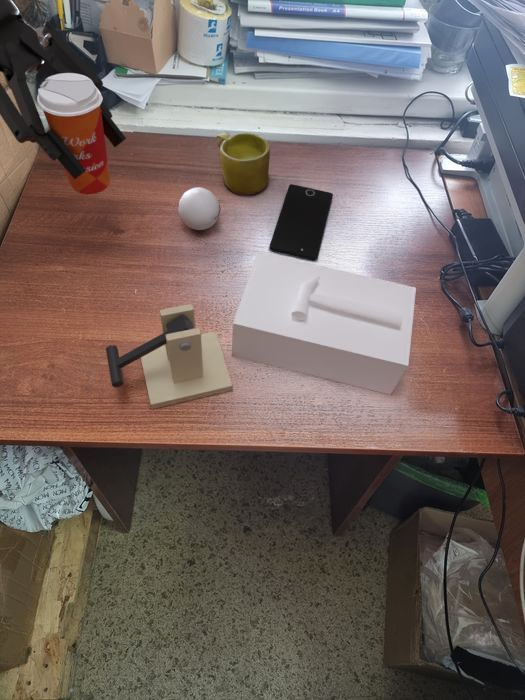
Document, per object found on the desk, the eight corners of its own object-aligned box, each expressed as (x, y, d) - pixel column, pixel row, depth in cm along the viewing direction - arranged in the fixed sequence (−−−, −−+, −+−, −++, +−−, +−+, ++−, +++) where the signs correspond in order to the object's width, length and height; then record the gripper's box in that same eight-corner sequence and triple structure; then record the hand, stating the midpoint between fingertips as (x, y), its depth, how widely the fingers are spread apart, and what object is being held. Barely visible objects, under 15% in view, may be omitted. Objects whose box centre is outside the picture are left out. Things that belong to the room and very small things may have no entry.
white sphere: (213, 242, 91) (212, 211, 85) (173, 233, 92) (170, 201, 85) (229, 206, 96) (230, 174, 90) (192, 197, 97) (190, 165, 91)
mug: (288, 181, 98) (273, 137, 90) (244, 210, 98) (226, 168, 90) (258, 155, 106) (242, 113, 98) (217, 182, 105) (198, 141, 97)
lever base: (151, 409, 73) (140, 363, 62) (139, 352, 78) (127, 300, 67) (232, 390, 75) (234, 343, 64) (215, 336, 80) (215, 284, 69)
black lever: (118, 389, 69) (107, 384, 67) (112, 353, 72) (101, 347, 70) (199, 346, 66) (189, 339, 64) (189, 310, 69) (179, 303, 67)
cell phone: (332, 196, 100) (333, 192, 99) (316, 262, 90) (317, 258, 89) (289, 187, 100) (289, 183, 100) (268, 250, 91) (268, 247, 90)
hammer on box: (254, 286, 86) (258, 240, 77) (399, 320, 84) (421, 277, 75) (231, 355, 78) (233, 313, 69) (390, 394, 77) (413, 357, 68)
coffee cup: (54, 194, 76) (23, 99, 64) (73, 160, 81) (48, 66, 68) (108, 203, 76) (88, 110, 64) (125, 169, 81) (109, 76, 68)
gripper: (25, -11, 71) (133, 132, 81) (-103, 50, 61) (40, 206, 71) (43, -46, 66) (157, 113, 76) (-93, 15, 55) (60, 191, 65)
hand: (101, 158), depth 73 cm, fingers closed on coffee cup, 8 cm apart
